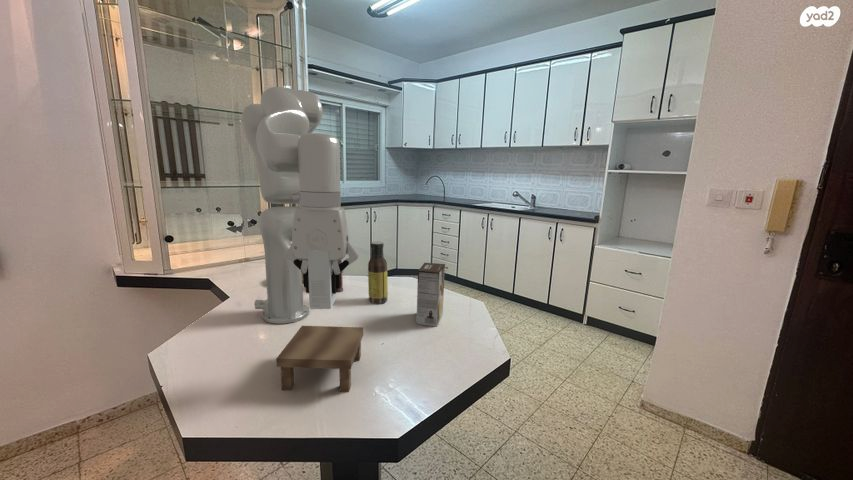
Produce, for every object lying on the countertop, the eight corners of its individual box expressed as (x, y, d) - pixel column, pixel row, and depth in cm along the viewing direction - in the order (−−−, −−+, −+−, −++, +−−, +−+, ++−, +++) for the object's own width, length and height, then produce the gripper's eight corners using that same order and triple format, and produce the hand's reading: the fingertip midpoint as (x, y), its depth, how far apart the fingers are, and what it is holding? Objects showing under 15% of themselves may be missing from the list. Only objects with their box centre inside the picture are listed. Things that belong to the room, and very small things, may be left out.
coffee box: (422, 312, 106) (424, 261, 103) (443, 314, 105) (445, 263, 101) (415, 324, 97) (417, 270, 94) (438, 327, 96) (440, 272, 93)
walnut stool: (278, 391, 66) (276, 358, 65) (303, 353, 80) (301, 325, 78) (351, 393, 66) (350, 360, 65) (363, 355, 80) (363, 327, 79)
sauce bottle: (381, 296, 118) (381, 239, 114) (391, 302, 113) (392, 242, 109) (364, 300, 114) (364, 241, 110) (374, 306, 109) (374, 245, 105)
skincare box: (315, 298, 73) (314, 243, 70) (336, 298, 73) (335, 243, 71) (308, 309, 67) (306, 249, 64) (330, 309, 67) (329, 249, 65)
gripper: (267, 201, 62) (272, 296, 66) (361, 204, 62) (361, 299, 66) (284, 197, 69) (288, 284, 73) (367, 200, 70) (367, 286, 73)
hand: (322, 290), depth 69 cm, fingers closed on skincare box, 4 cm apart
